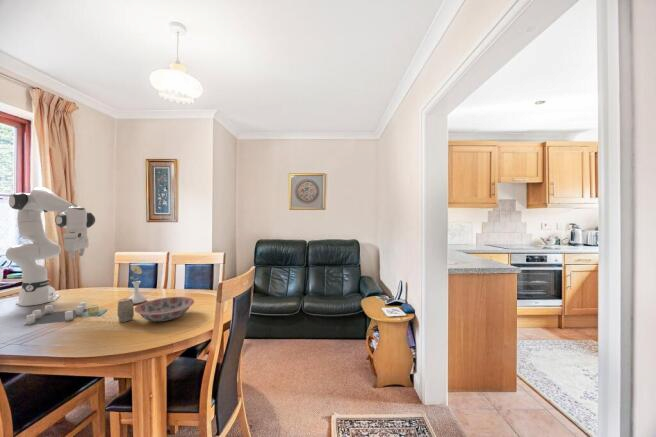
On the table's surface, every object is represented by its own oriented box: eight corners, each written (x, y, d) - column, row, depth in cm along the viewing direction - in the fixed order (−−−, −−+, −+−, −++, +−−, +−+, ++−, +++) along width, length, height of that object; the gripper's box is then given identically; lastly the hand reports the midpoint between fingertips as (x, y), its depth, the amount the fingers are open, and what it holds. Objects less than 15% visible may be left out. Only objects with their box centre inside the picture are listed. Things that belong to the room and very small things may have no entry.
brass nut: (89, 312, 165) (89, 305, 165) (100, 311, 167) (100, 304, 166) (85, 314, 160) (85, 308, 160) (97, 313, 162) (97, 307, 162)
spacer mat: (43, 313, 163) (43, 305, 163) (90, 309, 171) (90, 301, 171) (20, 326, 145) (20, 317, 144) (74, 321, 152) (74, 312, 152)
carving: (114, 322, 152) (114, 300, 152) (130, 317, 159) (130, 296, 159) (121, 324, 149) (121, 302, 149) (136, 319, 156) (136, 298, 156)
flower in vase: (149, 301, 187) (149, 264, 186) (130, 306, 177) (130, 267, 177) (140, 298, 194) (140, 262, 193) (121, 302, 184) (121, 265, 184)
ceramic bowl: (121, 324, 150) (121, 309, 149) (169, 307, 177) (169, 294, 177) (161, 332, 140) (161, 316, 139) (205, 313, 167) (205, 299, 167)
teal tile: (86, 312, 166) (86, 311, 166) (106, 310, 170) (106, 309, 170) (78, 318, 157) (78, 317, 157) (100, 316, 161) (100, 315, 161)
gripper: (79, 232, 174) (79, 254, 174) (61, 235, 155) (61, 259, 155) (91, 232, 176) (91, 254, 177) (75, 235, 157) (75, 259, 158)
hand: (77, 256), depth 166 cm, fingers open, 8 cm apart
